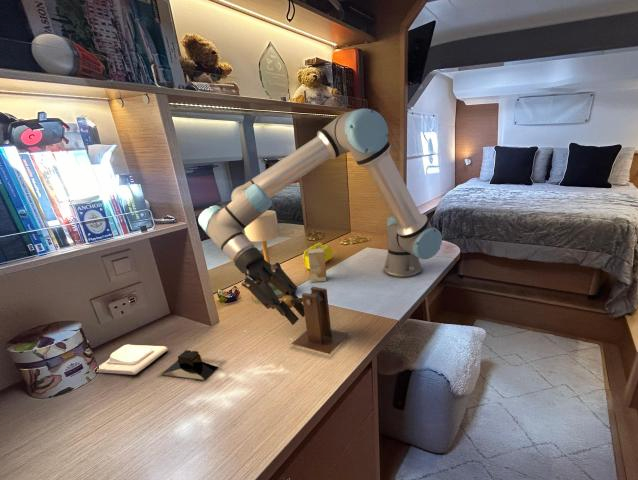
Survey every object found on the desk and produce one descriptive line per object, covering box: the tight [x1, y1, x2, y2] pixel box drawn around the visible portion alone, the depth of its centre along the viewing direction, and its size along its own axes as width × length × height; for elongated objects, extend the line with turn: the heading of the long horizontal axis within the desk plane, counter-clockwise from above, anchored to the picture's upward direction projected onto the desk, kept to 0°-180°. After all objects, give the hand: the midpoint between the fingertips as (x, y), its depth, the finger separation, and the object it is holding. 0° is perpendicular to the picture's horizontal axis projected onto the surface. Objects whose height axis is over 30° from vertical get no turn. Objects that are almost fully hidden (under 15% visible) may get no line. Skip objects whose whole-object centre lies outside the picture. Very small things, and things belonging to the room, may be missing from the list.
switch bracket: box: [290, 286, 349, 355], centre depth 91 cm, size 12×10×16 cm
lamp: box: [243, 209, 286, 303], centre depth 118 cm, size 14×14×30 cm
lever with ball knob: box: [280, 291, 323, 309], centre depth 91 cm, size 13×4×4 cm, turn 64°
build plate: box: [161, 349, 219, 382], centre depth 84 cm, size 12×7×5 cm, turn 78°
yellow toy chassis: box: [302, 241, 334, 270], centre depth 150 cm, size 16×6×8 cm, turn 158°
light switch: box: [95, 344, 169, 376], centre depth 89 cm, size 11×4×13 cm
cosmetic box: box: [307, 249, 327, 283], centre depth 133 cm, size 6×4×12 cm
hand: (300, 317), depth 93 cm, fingers closed on lever with ball knob, 4 cm apart
